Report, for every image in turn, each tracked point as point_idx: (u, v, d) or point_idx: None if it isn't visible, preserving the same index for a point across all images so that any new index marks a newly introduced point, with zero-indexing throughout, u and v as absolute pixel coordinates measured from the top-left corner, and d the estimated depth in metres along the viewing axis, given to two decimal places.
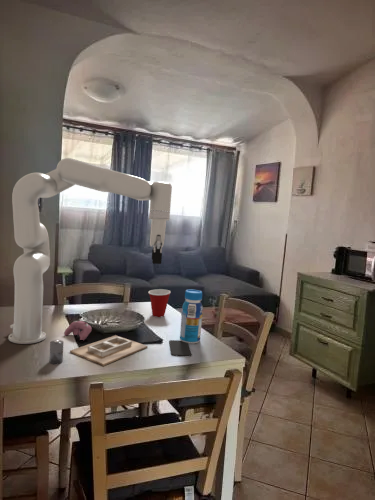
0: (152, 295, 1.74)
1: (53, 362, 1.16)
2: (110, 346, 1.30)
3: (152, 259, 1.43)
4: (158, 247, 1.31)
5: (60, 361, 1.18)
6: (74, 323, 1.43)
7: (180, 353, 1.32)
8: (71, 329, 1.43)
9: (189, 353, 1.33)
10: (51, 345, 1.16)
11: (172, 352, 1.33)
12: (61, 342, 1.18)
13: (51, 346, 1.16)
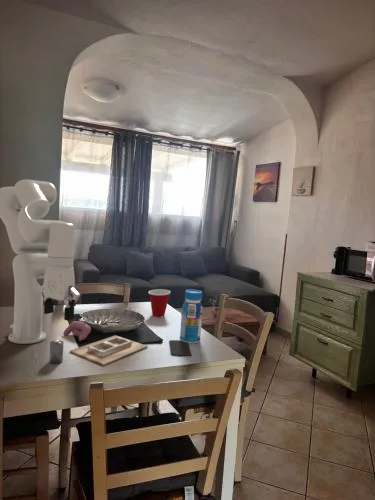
0: (152, 295, 1.74)
1: (53, 362, 1.16)
2: (110, 346, 1.30)
3: (46, 313, 1.18)
4: (76, 301, 1.12)
5: (60, 361, 1.18)
6: (73, 323, 1.43)
7: (180, 353, 1.32)
8: (70, 329, 1.43)
9: (189, 353, 1.33)
10: (51, 345, 1.16)
11: (172, 352, 1.33)
12: (61, 342, 1.18)
13: (51, 346, 1.16)
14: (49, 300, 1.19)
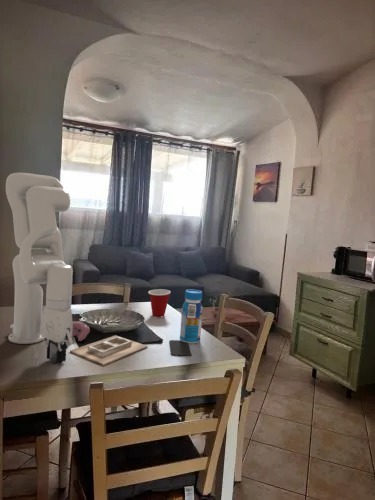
0: (152, 295, 1.74)
1: (53, 362, 1.16)
2: (110, 346, 1.30)
3: (48, 358, 1.18)
4: (67, 346, 1.15)
5: None
6: None
7: (180, 353, 1.32)
8: None
9: (189, 353, 1.33)
10: (51, 345, 1.16)
11: (172, 352, 1.33)
12: None
13: (51, 346, 1.16)
14: None
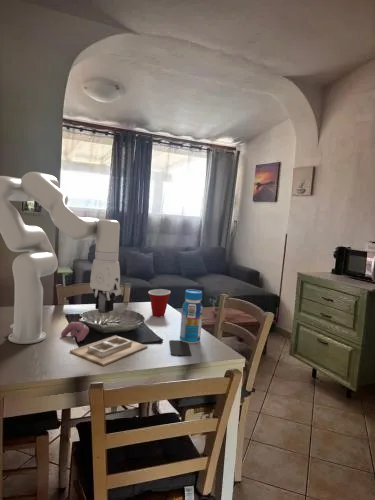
0: (152, 295, 1.74)
1: (102, 311, 1.25)
2: (110, 346, 1.30)
3: (97, 308, 1.27)
4: (116, 295, 1.23)
5: None
6: (71, 324, 1.42)
7: (180, 353, 1.32)
8: (68, 330, 1.42)
9: (189, 353, 1.33)
10: (100, 295, 1.25)
11: (172, 352, 1.33)
12: None
13: (100, 296, 1.25)
14: None
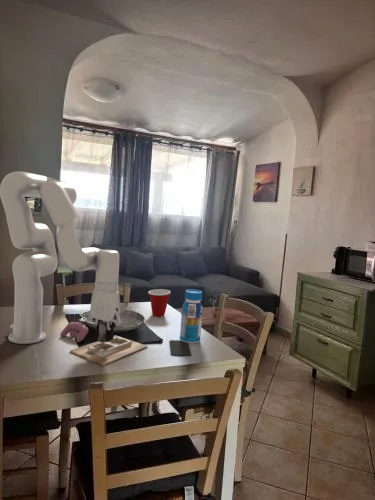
0: (152, 295, 1.74)
1: (102, 340, 1.26)
2: (110, 346, 1.30)
3: (97, 337, 1.28)
4: (116, 325, 1.25)
5: None
6: (70, 324, 1.41)
7: (180, 353, 1.32)
8: (67, 330, 1.41)
9: (189, 353, 1.33)
10: (100, 325, 1.26)
11: (172, 352, 1.33)
12: None
13: (100, 326, 1.26)
14: None
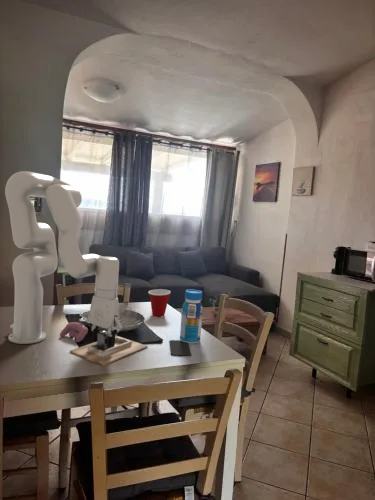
0: (152, 295, 1.74)
1: None
2: None
3: None
4: (118, 331, 1.24)
5: None
6: (70, 324, 1.41)
7: (180, 353, 1.32)
8: (67, 331, 1.41)
9: (189, 353, 1.33)
10: (99, 335, 1.26)
11: (172, 352, 1.33)
12: (107, 333, 1.28)
13: (99, 336, 1.26)
14: (96, 329, 1.30)
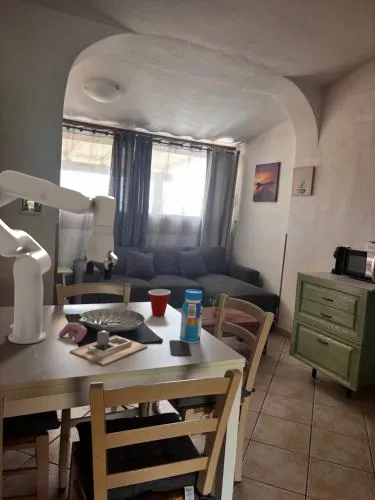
0: (152, 295, 1.74)
1: None
2: (110, 346, 1.30)
3: (87, 274, 1.37)
4: (114, 264, 1.31)
5: None
6: (69, 325, 1.40)
7: (180, 353, 1.32)
8: (66, 331, 1.41)
9: (189, 353, 1.33)
10: (99, 335, 1.26)
11: (172, 352, 1.33)
12: (107, 333, 1.28)
13: (99, 336, 1.26)
14: (90, 263, 1.38)
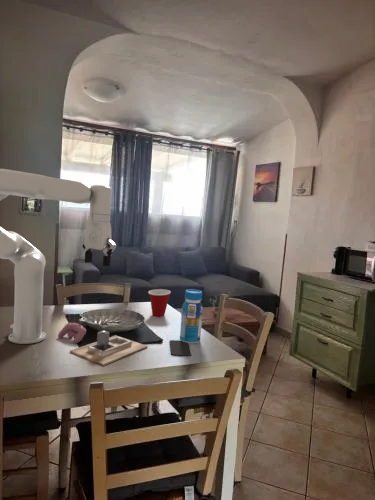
0: (152, 295, 1.74)
1: None
2: (110, 346, 1.30)
3: (86, 262, 1.42)
4: (113, 250, 1.36)
5: None
6: (68, 325, 1.40)
7: (180, 353, 1.32)
8: (65, 331, 1.40)
9: (189, 353, 1.33)
10: (99, 335, 1.26)
11: (172, 352, 1.33)
12: (107, 333, 1.28)
13: (99, 336, 1.26)
14: (89, 251, 1.42)
